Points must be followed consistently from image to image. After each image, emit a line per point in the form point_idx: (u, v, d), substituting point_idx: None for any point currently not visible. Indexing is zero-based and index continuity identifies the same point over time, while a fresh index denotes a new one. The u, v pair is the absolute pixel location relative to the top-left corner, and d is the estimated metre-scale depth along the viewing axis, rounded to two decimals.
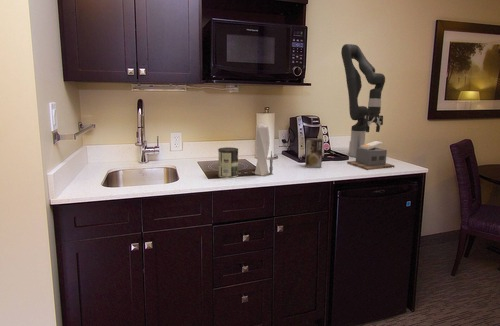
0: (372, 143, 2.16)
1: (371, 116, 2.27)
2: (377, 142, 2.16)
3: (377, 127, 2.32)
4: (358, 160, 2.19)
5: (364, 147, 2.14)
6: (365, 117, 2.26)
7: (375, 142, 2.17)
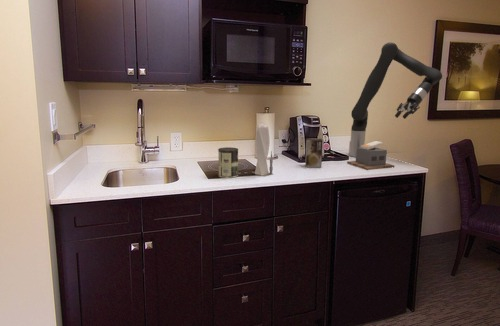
0: (372, 143, 2.16)
1: None
2: (377, 142, 2.16)
3: (399, 113, 2.22)
4: (358, 160, 2.19)
5: (364, 147, 2.14)
6: (417, 107, 2.15)
7: (375, 142, 2.17)
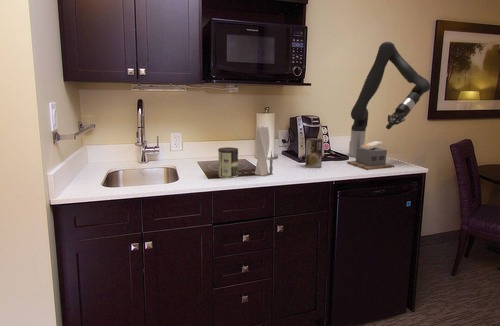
0: (372, 143, 2.16)
1: None
2: (377, 142, 2.16)
3: None
4: (358, 160, 2.19)
5: (364, 147, 2.14)
6: (402, 119, 2.14)
7: (375, 142, 2.17)
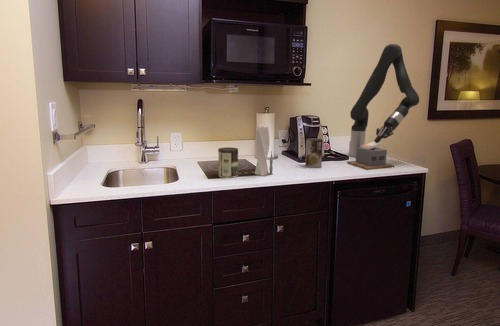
0: (372, 143, 2.16)
1: None
2: None
3: None
4: (358, 160, 2.19)
5: (364, 147, 2.14)
6: (390, 133, 2.12)
7: (375, 142, 2.17)
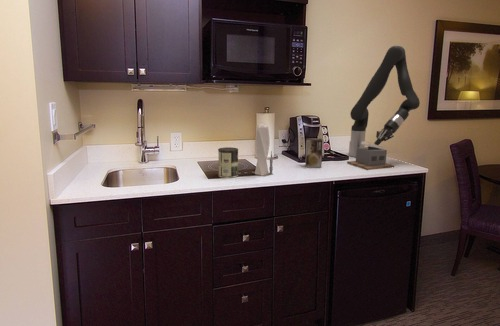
0: None
1: None
2: None
3: None
4: (358, 160, 2.19)
5: (364, 143, 2.14)
6: (390, 136, 2.13)
7: None
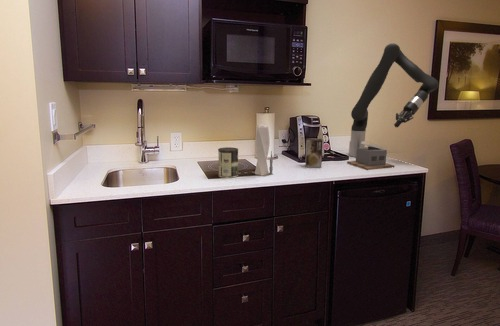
0: None
1: None
2: None
3: None
4: (358, 160, 2.19)
5: (365, 143, 2.14)
6: (410, 117, 2.16)
7: None
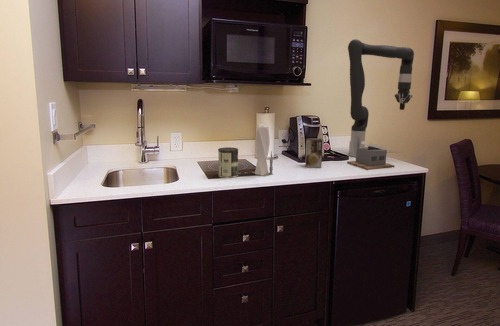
0: None
1: None
2: None
3: None
4: (358, 160, 2.19)
5: (365, 143, 2.14)
6: (409, 97, 2.24)
7: None
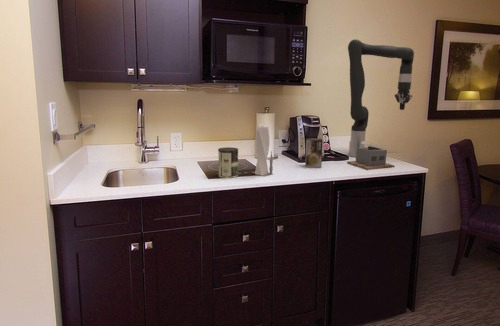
0: None
1: None
2: None
3: None
4: (358, 160, 2.19)
5: (365, 143, 2.14)
6: (409, 97, 2.24)
7: None
